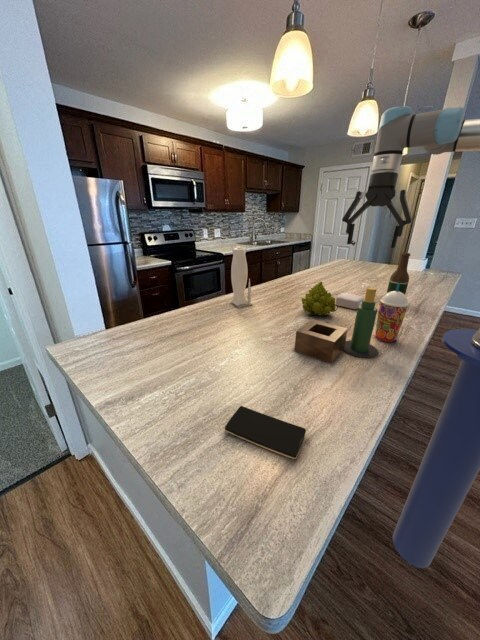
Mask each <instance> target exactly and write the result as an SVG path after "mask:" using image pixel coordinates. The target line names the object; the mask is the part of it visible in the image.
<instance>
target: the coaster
mask: <svg viewBox="0 0 480 640" xmlns="http://www.w3.org/2000/svg"><path fill="white" fill-rule="evenodd" d="M350 345H351V340H346V342H345V347H344V348H343V350H342V351H343V352H344V353H345V354H348V355H350V356H353V357H355V358H360V359H374V358H375V357H377V356H378V354H379V351H378V349H377V348H376V347H375V346H374V345H372V344H371V343H370V344H369V349H368V351H367V352H357V351H354V350H352V349H351V348H350Z"/></svg>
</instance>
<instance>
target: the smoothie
mask: <svg viewBox="0 0 480 640" xmlns="http://www.w3.org/2000/svg"><path fill="white" fill-rule="evenodd" d="M399 286H400V283H398V284H397V288H396V291H391V292H388V293H387V292H386V293H385V294H384V295H383V296H382V297H381V298H380V299H379V300H380V301H379V306H378V311H377V319H376V326H375V327H376V328H375V333H374V334H375V337H376V338H377V340H378V341H382V342H385V343H393V342H395V340H396V339H397V338H398V335H399V333H400V330H401V327H402V324H403V321H404V319H405V316H406V314H407V310H408V308H409V305H410V303H409V301H408V298H407V295H406V294H405V295H404V294H403V293H402V292H399V291H398V290H399Z"/></svg>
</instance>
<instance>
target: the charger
mask: <svg viewBox="0 0 480 640" xmlns="http://www.w3.org/2000/svg"><path fill="white" fill-rule="evenodd" d="M363 300H365V296H362V295H357V294H353V293H348V292H342V293H340V294H339V295H337V296H336V297H335V302H336V303H335V305H336V306H338V307H342V308H347V309H351V310H355V311H356V310H357V309H358V306H359V305H362V301H363Z"/></svg>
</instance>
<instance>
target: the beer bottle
mask: <svg viewBox="0 0 480 640" xmlns="http://www.w3.org/2000/svg"><path fill="white" fill-rule="evenodd" d="M410 257H411V253H410V252H401V253H400V258H399V262H398V265H397V267H396V270H395V271H394V272H392V274H391V276H390V277H389V282H388V284H387V285H388V286H387V290H386V293H388V292H391V291H396V288H397V284H398V283H400V286H399V290H398V291H399V292H402V293H403V294H404V295H405V296H406V293H407V290H408V286H409V281H410V275H409V272H408V266H409V261H410Z"/></svg>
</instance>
